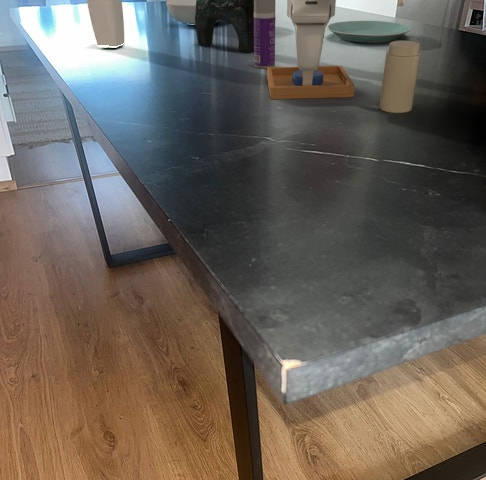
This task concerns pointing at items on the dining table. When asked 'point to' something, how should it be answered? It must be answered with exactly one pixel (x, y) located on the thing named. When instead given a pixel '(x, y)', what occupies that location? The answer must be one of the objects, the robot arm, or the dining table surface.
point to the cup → (107, 21)
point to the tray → (332, 86)
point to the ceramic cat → (226, 20)
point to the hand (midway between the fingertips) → (307, 83)
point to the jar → (400, 76)
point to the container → (264, 33)
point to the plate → (368, 31)
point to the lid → (298, 78)
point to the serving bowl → (183, 10)
